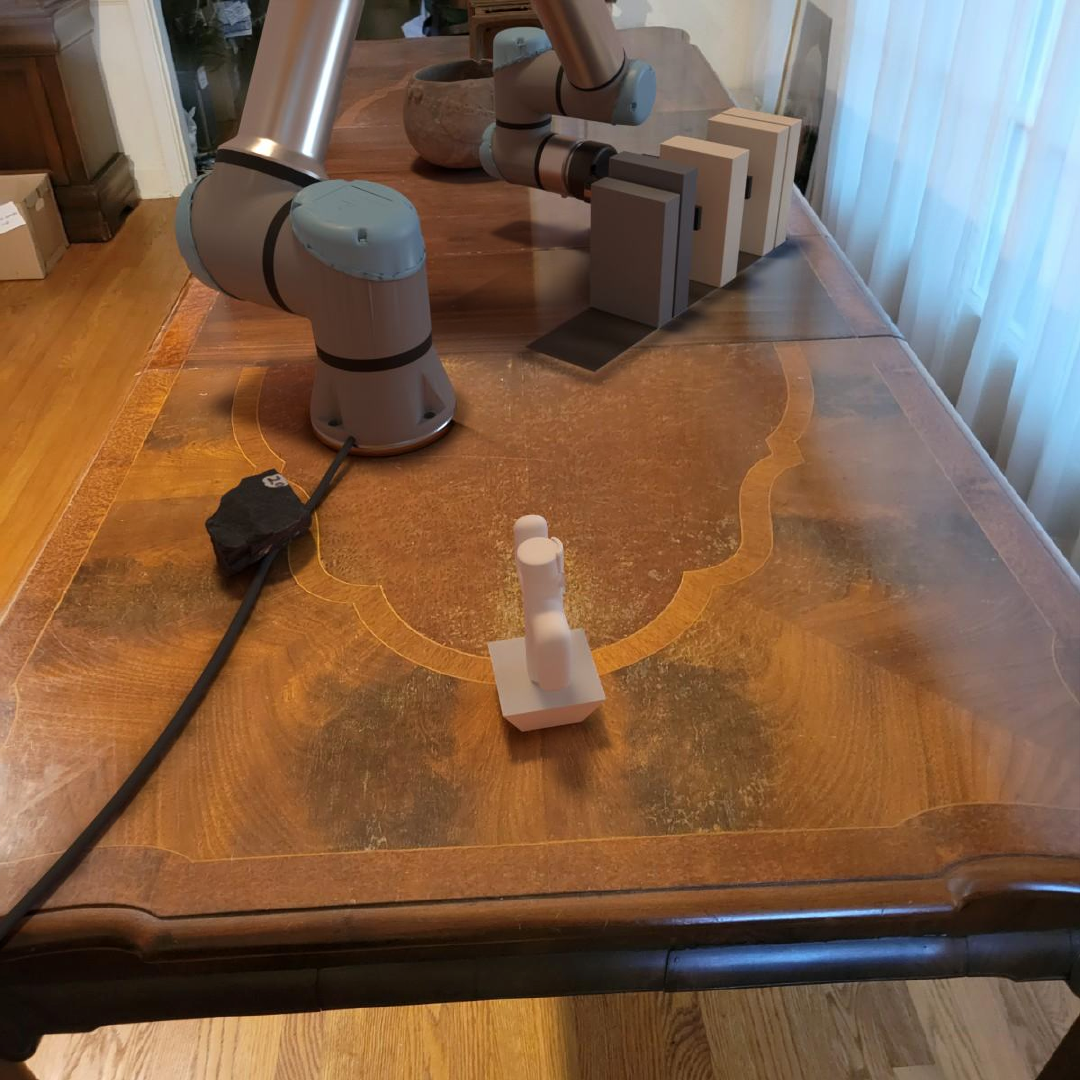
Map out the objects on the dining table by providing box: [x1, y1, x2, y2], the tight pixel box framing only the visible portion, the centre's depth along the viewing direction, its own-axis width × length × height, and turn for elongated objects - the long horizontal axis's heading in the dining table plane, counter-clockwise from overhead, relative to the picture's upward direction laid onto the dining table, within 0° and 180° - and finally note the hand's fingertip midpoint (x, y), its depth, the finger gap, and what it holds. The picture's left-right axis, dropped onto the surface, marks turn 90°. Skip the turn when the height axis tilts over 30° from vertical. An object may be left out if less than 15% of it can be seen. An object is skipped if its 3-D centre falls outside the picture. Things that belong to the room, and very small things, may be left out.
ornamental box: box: [466, 0, 554, 62], centre depth 197 cm, size 35×18×18 cm, turn 5°
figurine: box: [487, 514, 607, 732], centre depth 67 cm, size 7×9×15 cm
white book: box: [659, 134, 750, 289], centre depth 122 cm, size 4×10×16 cm, turn 52°
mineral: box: [204, 468, 313, 577], centre depth 86 cm, size 10×9×6 cm
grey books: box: [589, 150, 698, 329], centre depth 115 cm, size 6×10×17 cm, turn 52°
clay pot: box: [402, 58, 496, 169], centre depth 162 cm, size 21×21×15 cm
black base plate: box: [524, 237, 790, 373], centre depth 124 cm, size 46×10×1 cm, turn 142°
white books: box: [705, 107, 803, 257], centre depth 130 cm, size 6×10×16 cm, turn 52°
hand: (725, 203), depth 120 cm, fingers open, 12 cm apart
